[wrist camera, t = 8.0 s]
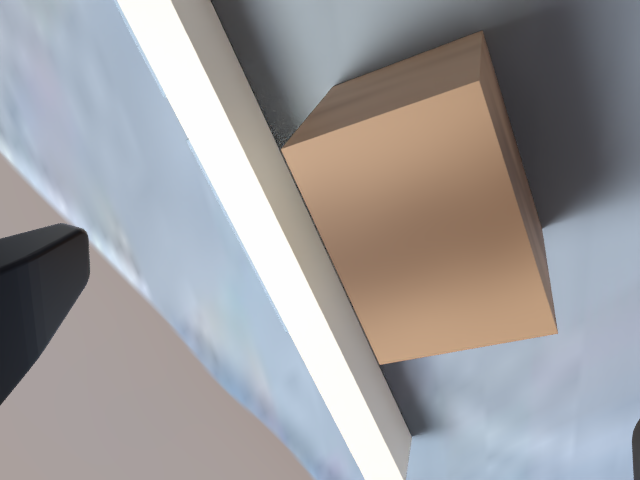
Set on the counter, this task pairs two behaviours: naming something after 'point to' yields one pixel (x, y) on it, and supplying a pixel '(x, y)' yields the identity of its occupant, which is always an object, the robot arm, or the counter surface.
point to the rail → (270, 221)
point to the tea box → (426, 205)
